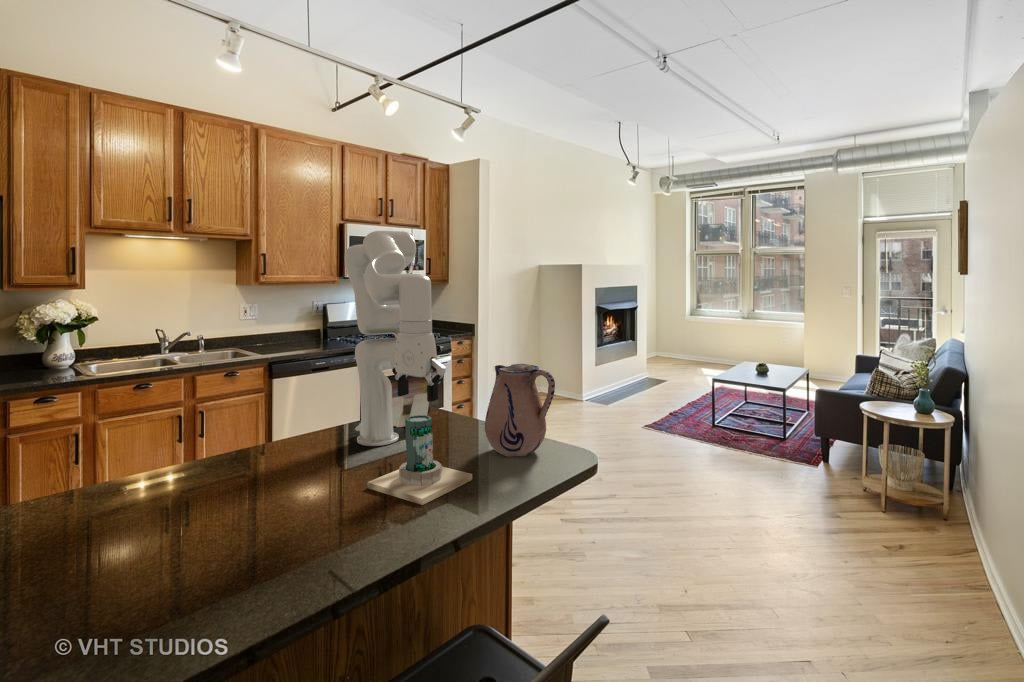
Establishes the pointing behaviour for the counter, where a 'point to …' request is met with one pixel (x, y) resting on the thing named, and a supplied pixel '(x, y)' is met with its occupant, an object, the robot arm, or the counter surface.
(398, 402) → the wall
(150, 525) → the counter surface
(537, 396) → the ceramic pitcher
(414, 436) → the can
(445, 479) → the socket board
